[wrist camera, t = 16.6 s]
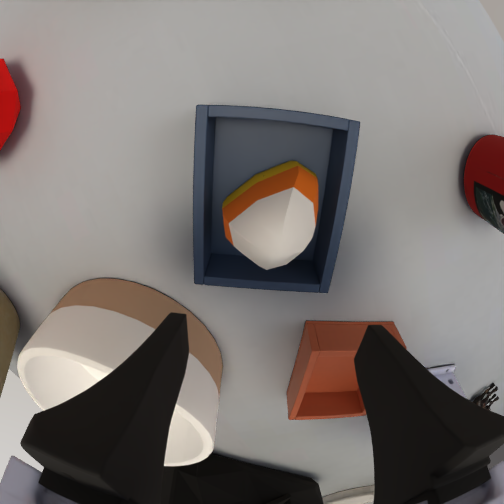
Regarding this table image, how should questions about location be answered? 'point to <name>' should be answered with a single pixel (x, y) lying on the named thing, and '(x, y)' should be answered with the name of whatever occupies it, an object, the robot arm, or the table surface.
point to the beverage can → (486, 180)
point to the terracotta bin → (329, 370)
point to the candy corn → (273, 214)
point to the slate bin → (258, 160)
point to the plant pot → (7, 335)
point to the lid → (351, 496)
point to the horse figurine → (486, 400)
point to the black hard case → (235, 484)
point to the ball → (7, 103)
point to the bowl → (123, 357)
